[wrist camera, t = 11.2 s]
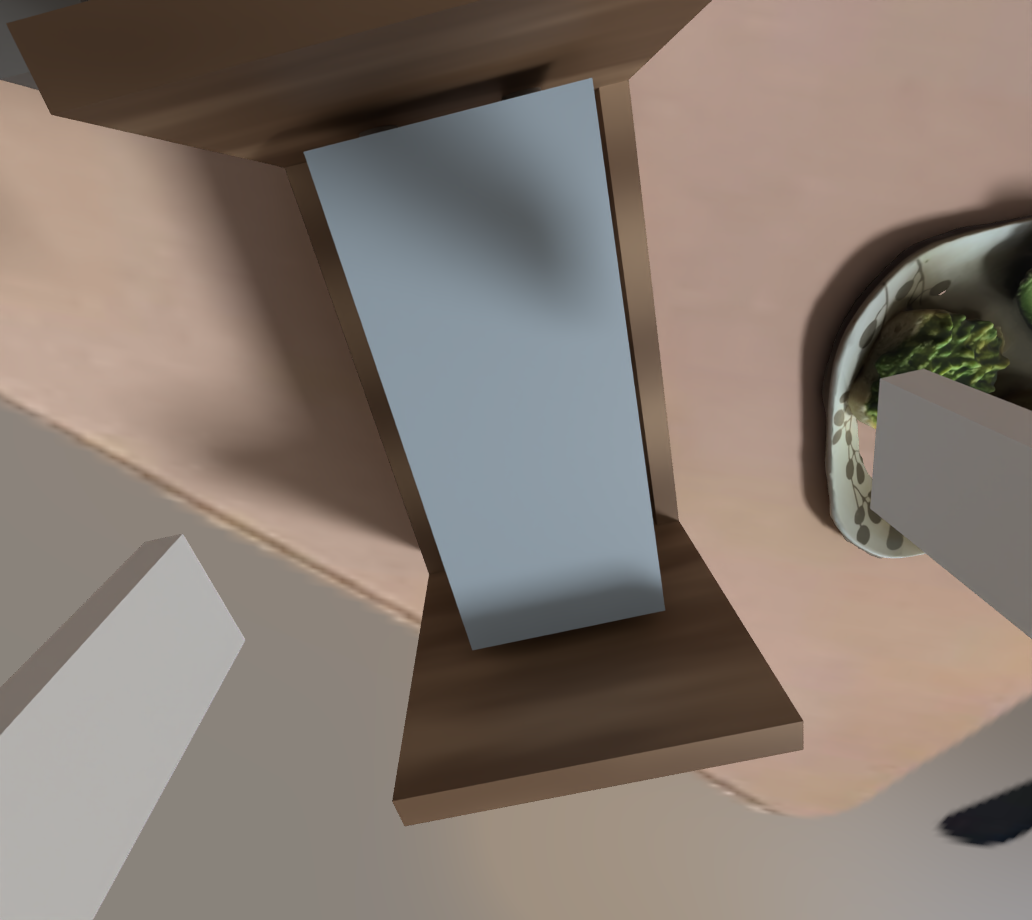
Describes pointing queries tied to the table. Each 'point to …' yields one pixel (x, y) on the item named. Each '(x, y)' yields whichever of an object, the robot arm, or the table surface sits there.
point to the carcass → (282, 142)
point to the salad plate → (926, 351)
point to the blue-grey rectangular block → (504, 354)
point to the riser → (3, 58)
